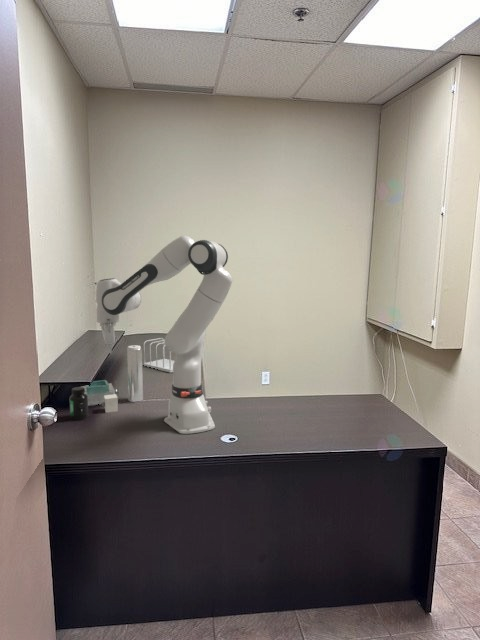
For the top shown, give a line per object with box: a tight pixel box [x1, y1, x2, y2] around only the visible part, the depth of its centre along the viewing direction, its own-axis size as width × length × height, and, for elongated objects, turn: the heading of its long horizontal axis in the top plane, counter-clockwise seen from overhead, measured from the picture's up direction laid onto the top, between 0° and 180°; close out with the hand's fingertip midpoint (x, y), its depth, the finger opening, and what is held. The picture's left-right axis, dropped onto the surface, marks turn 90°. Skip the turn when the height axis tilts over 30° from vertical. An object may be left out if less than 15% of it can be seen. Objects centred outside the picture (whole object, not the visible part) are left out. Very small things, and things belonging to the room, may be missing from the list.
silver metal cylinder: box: [126, 344, 144, 403], centre depth 188 cm, size 6×6×25 cm
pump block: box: [101, 394, 119, 413], centre depth 176 cm, size 5×6×6 cm
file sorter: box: [142, 337, 175, 374], centre depth 248 cm, size 25×17×16 cm
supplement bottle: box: [68, 386, 89, 421], centre depth 167 cm, size 7×7×12 cm
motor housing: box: [80, 379, 119, 407], centre depth 189 cm, size 14×16×8 cm
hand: (108, 350), depth 173 cm, fingers open, 8 cm apart
